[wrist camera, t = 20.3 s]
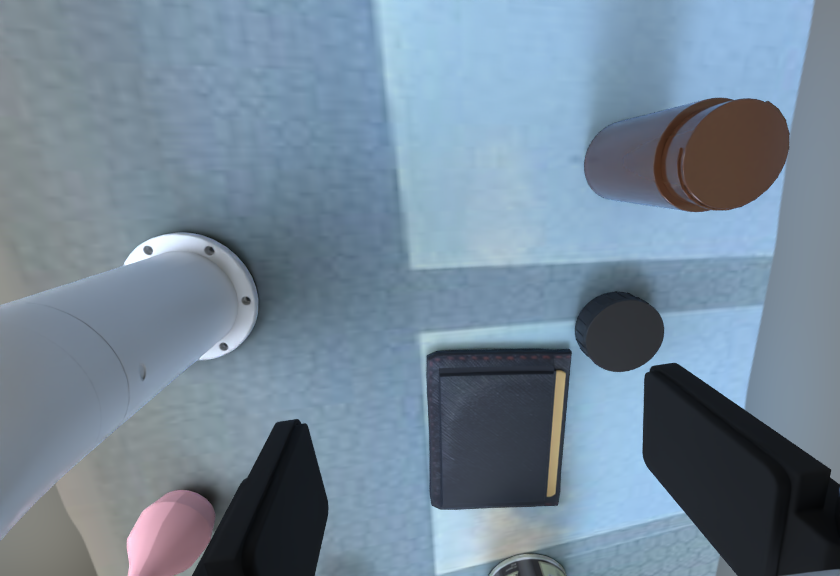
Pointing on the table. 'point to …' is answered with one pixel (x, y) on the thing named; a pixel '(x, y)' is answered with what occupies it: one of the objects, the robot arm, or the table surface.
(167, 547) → the pink teardrop shaped piece
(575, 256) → the table surface
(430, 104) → the table surface
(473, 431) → the wallet
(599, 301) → the lid
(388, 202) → the table surface
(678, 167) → the jar
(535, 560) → the coffee can
